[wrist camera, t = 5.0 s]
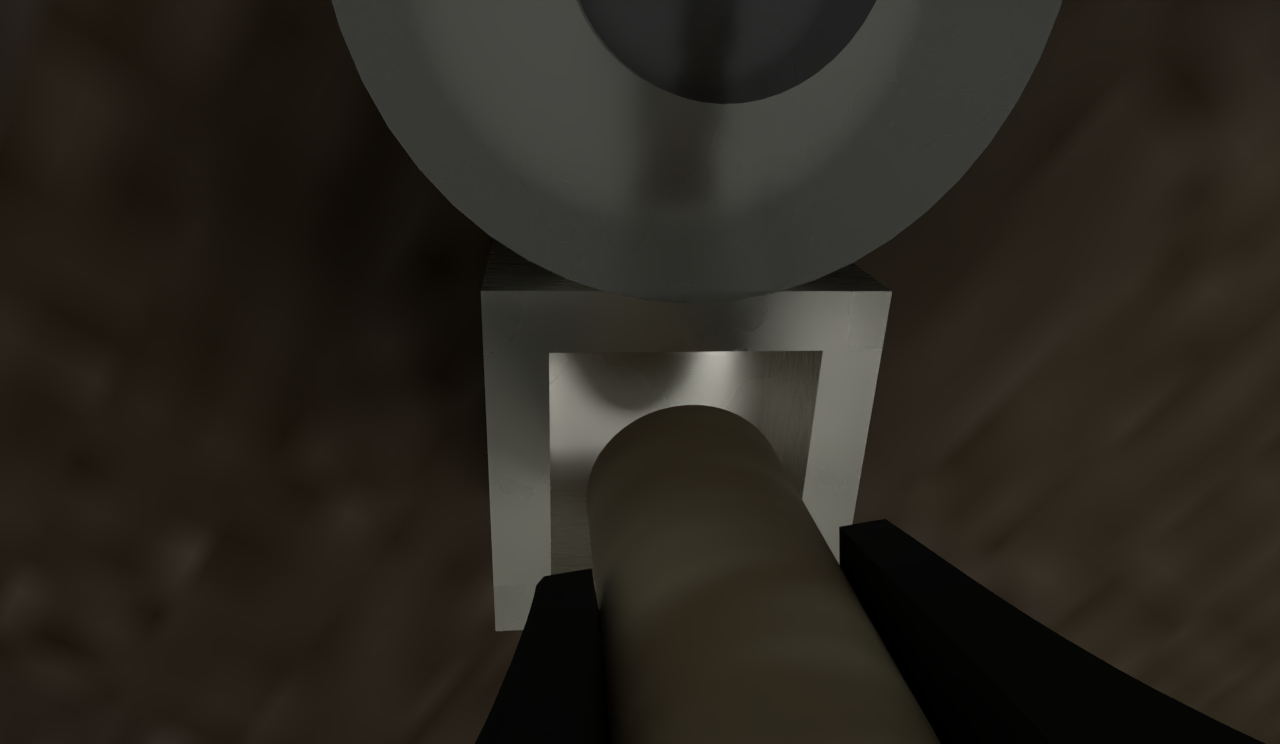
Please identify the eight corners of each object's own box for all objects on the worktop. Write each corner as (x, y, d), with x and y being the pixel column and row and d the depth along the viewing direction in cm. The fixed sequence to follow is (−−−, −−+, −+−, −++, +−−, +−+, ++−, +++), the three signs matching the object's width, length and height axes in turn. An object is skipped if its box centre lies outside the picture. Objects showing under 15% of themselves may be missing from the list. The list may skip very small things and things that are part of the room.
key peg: (775, 390, 12) (1134, 921, 5) (785, 556, 13) (1079, 1176, 6) (571, 422, 12) (623, 1029, 5) (601, 589, 13) (678, 1268, 6)
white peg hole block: (343, -451, 11) (207, -785, 7) (998, -379, 12) (1264, -616, 8) (423, 511, 18) (382, 678, 13) (851, 497, 19) (951, 645, 14)
